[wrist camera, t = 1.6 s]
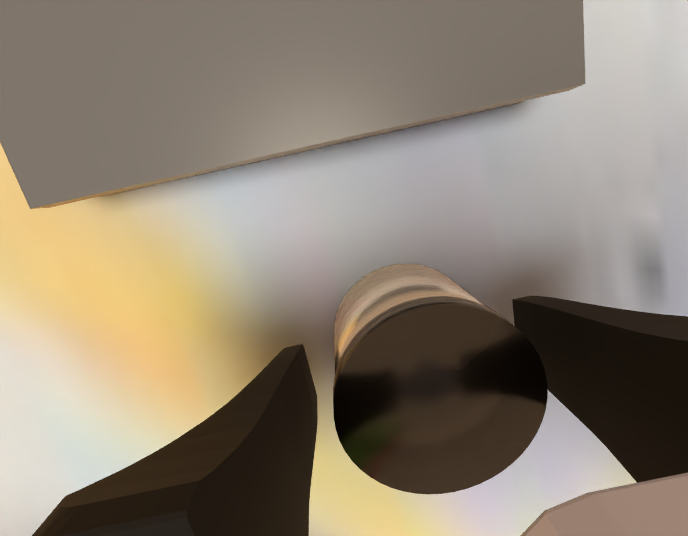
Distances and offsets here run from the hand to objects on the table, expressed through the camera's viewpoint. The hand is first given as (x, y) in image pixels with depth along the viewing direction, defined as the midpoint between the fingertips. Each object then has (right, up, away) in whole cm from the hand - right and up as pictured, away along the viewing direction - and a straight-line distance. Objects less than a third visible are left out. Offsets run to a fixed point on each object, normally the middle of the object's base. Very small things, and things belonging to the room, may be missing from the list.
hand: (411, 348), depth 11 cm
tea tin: (0, 0, +1) cm, 2 cm away
